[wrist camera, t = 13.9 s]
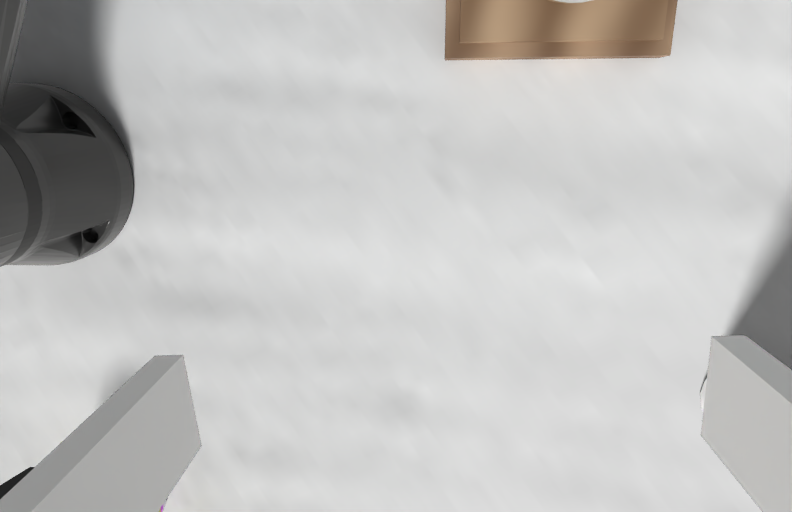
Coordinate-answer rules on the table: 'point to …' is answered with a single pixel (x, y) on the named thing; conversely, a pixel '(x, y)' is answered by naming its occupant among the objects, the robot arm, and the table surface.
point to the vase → (570, 1)
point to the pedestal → (558, 29)
